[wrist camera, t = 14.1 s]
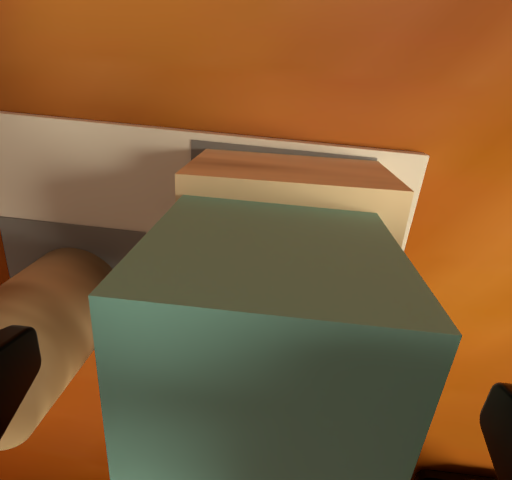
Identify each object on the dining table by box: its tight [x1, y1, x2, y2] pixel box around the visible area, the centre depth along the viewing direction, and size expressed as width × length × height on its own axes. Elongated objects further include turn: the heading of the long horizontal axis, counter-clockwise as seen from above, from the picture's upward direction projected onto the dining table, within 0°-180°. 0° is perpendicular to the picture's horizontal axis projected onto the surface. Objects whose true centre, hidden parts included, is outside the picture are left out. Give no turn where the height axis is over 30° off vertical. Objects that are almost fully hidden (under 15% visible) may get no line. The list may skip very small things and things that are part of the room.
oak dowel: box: [0, 248, 113, 451], centre depth 13 cm, size 4×4×6 cm
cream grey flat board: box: [0, 111, 429, 278], centre depth 15 cm, size 10×16×1 cm, turn 85°
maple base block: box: [175, 149, 414, 247], centre depth 12 cm, size 6×6×4 cm
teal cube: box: [88, 195, 462, 480], centre depth 8 cm, size 5×5×5 cm
